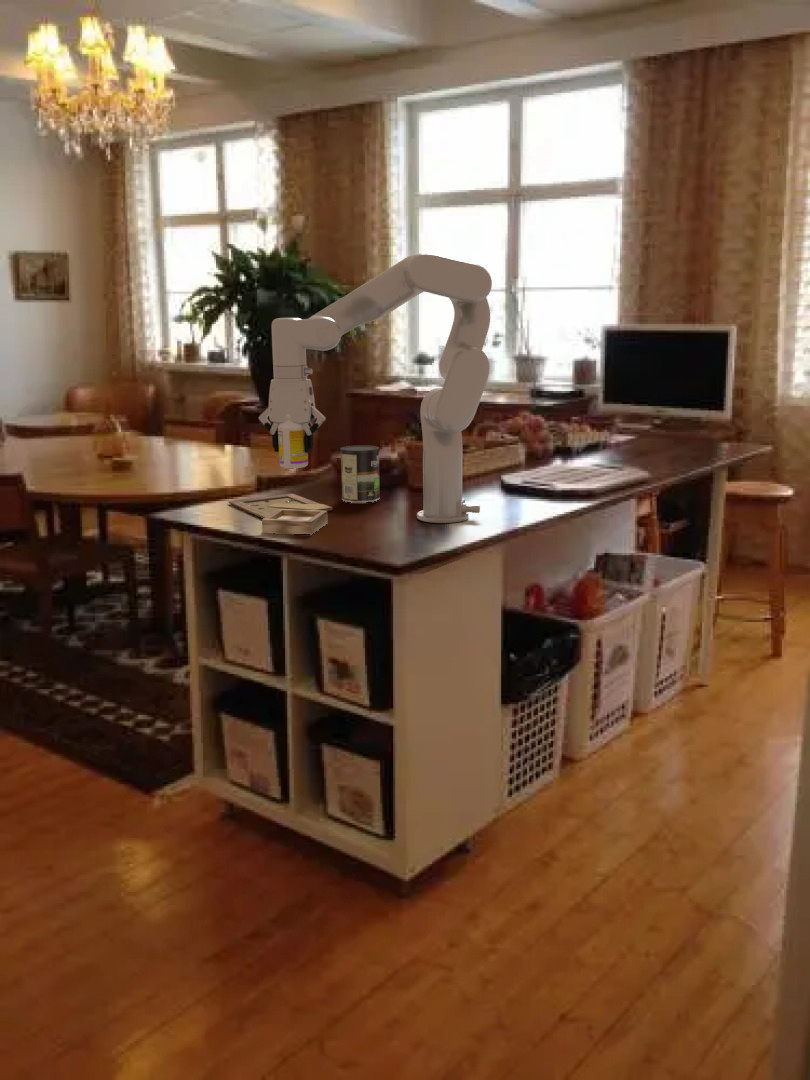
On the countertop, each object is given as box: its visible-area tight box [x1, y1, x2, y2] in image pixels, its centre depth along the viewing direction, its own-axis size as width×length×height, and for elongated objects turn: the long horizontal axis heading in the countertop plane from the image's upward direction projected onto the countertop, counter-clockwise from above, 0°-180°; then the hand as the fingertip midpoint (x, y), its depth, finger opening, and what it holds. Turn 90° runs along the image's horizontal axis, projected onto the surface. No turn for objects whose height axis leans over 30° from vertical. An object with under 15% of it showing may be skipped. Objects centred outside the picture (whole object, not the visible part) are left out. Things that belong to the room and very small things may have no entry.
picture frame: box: [228, 493, 333, 519], centre depth 253 cm, size 19×2×24 cm
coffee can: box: [339, 444, 381, 504], centre depth 260 cm, size 10×10×14 cm
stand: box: [261, 509, 329, 536], centre depth 230 cm, size 12×12×3 cm
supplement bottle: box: [278, 414, 309, 469], centre depth 225 cm, size 7×7×13 cm
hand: (293, 450), depth 225 cm, fingers closed on supplement bottle, 6 cm apart
